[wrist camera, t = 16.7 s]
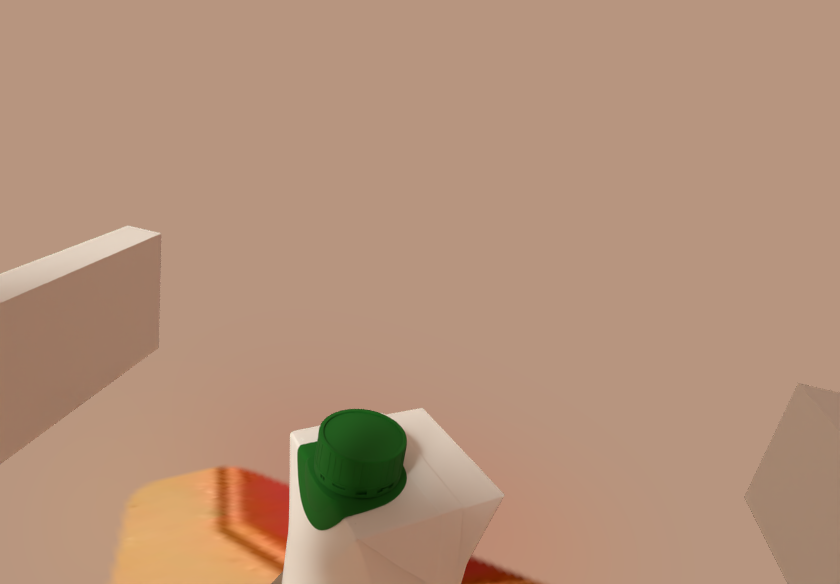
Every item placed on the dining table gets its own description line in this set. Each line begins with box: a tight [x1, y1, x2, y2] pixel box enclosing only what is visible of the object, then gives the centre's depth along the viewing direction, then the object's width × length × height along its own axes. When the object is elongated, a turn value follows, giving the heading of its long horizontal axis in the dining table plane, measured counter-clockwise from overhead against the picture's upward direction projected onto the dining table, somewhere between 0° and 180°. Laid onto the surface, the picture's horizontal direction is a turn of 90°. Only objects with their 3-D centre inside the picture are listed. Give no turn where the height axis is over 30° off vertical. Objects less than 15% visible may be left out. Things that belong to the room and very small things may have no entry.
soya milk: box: [282, 408, 504, 584], centre depth 32 cm, size 9×9×20 cm
